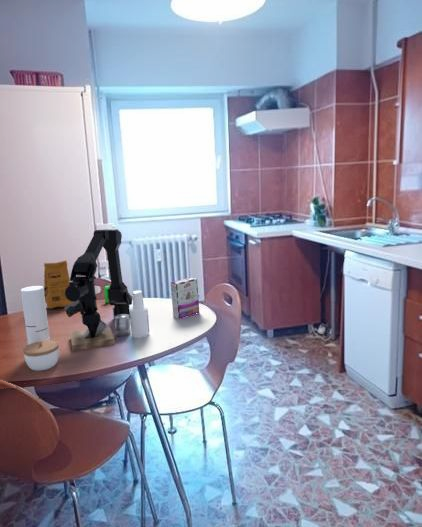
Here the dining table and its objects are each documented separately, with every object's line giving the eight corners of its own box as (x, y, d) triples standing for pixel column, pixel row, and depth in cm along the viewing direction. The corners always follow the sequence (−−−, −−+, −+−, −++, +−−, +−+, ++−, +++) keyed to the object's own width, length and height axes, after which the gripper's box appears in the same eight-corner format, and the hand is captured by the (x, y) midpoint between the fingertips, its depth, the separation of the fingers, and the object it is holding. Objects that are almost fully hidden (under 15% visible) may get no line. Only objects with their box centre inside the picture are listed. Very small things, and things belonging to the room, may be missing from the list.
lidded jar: (26, 365, 142) (22, 339, 140) (59, 359, 146) (56, 333, 145) (26, 378, 133) (22, 350, 131) (62, 371, 137) (58, 344, 135)
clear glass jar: (129, 332, 169) (127, 313, 168) (132, 336, 164) (130, 317, 163) (115, 334, 167) (113, 315, 166) (117, 339, 162) (115, 319, 161)
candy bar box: (193, 312, 191) (191, 276, 188) (199, 314, 187) (198, 278, 184) (172, 318, 184) (170, 281, 181) (178, 320, 180) (176, 283, 177)
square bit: (92, 339, 162) (105, 323, 162) (92, 343, 158) (106, 326, 159) (83, 334, 160) (97, 317, 161) (84, 337, 157) (98, 320, 157)
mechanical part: (116, 302, 212) (114, 287, 210) (105, 302, 213) (103, 287, 211) (125, 296, 223) (124, 281, 222) (115, 296, 224) (113, 281, 223)
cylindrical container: (33, 354, 152) (24, 286, 147) (54, 352, 152) (46, 285, 147) (27, 362, 145) (17, 291, 140) (48, 361, 145) (39, 290, 140)
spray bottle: (152, 334, 166) (149, 289, 163) (144, 340, 160) (140, 294, 156) (137, 332, 168) (133, 288, 165) (128, 339, 162) (124, 293, 158)
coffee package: (45, 304, 213) (39, 261, 209) (70, 300, 218) (65, 258, 214) (47, 309, 204) (41, 265, 200) (73, 305, 210) (68, 261, 205)
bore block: (109, 333, 169) (109, 325, 169) (115, 346, 156) (114, 338, 155) (71, 339, 164) (70, 332, 164) (73, 353, 151) (72, 345, 150)
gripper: (63, 290, 162) (68, 329, 165) (65, 303, 145) (70, 346, 148) (93, 287, 166) (97, 324, 169) (98, 299, 149) (102, 340, 152)
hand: (91, 333), depth 159 cm, fingers open, 9 cm apart
